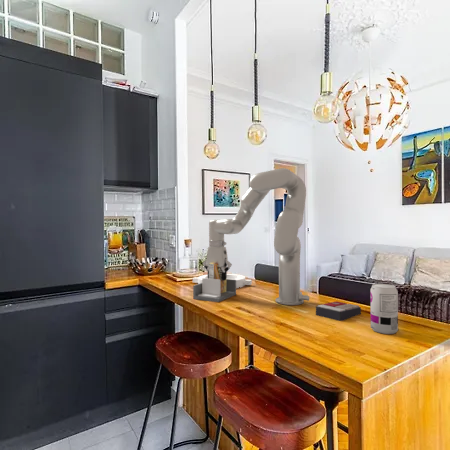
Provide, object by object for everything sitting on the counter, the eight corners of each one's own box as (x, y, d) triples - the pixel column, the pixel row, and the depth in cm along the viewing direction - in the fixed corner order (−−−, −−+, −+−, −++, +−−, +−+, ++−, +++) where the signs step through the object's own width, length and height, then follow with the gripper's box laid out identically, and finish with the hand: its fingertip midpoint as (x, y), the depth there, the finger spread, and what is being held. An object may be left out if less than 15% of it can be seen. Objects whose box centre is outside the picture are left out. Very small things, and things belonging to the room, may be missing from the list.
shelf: (236, 294, 164) (236, 275, 164) (218, 302, 148) (218, 281, 148) (212, 291, 170) (212, 274, 170) (193, 298, 155) (193, 279, 155)
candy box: (221, 290, 165) (221, 261, 165) (226, 292, 162) (226, 261, 162) (208, 293, 159) (208, 262, 159) (214, 295, 156) (214, 263, 156)
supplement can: (366, 330, 107) (366, 285, 107) (376, 325, 113) (375, 282, 113) (392, 336, 101) (392, 289, 101) (401, 330, 107) (401, 285, 107)
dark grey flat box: (361, 305, 127) (340, 310, 118) (361, 316, 127) (340, 321, 118) (336, 300, 136) (315, 304, 126) (336, 310, 136) (315, 315, 126)
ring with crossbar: (190, 283, 197) (190, 275, 197) (230, 279, 210) (230, 272, 210) (210, 292, 172) (210, 283, 172) (254, 286, 185) (254, 278, 185)
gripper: (235, 244, 160) (235, 279, 160) (206, 243, 168) (206, 277, 168) (228, 245, 153) (228, 282, 153) (198, 244, 162) (198, 279, 162)
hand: (217, 279), depth 161 cm, fingers open, 7 cm apart
